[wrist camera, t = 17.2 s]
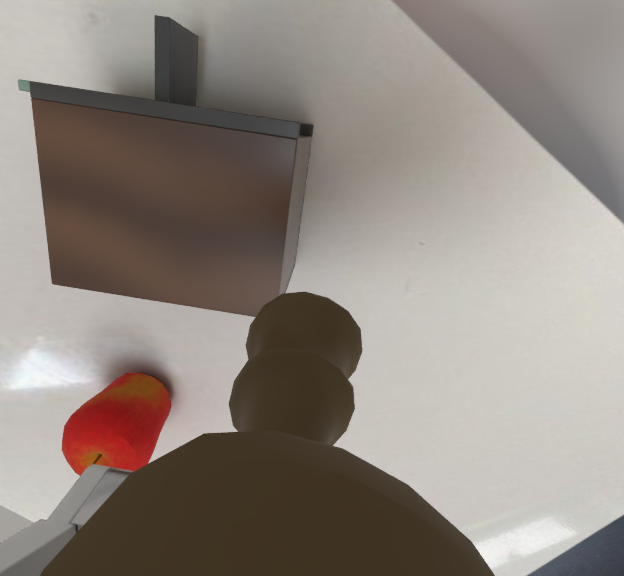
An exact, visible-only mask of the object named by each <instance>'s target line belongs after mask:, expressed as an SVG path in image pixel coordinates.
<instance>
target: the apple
mask: <svg viewBox="0 0 624 576" xmlns="http://www.w3.org/2000/svg"><path fill="white" fill-rule="evenodd" d="M170 408H171V400H170V395H169V393H168V392H167V390H166V389H165V387H164V385H163V383H162V382H160V381H159V380H158V379H156V378H155V377H151V376H148V375H145V374H142V373H126V374H124V375H122V376H120V377H119V378H117V379H116V380H115V381H113V382H112V383H111V384H110V385H109V386H108V387H106V388H105V389H104V390H103V391H102V392H100V393H99V394H97V395H96V396H94V397H93V398H91V399H90V400H89V401H87V402H86V403H84V404H83V405H82V406H81V407H80V408H79V409H78V410H77V411H76V412H75V413H73V414H72V415H71V417H70V418H69V420H68V421H67V423H66V424H65V426H64V432H63V439H62V451H63V454H64V456H65V458H66V460H67V462H68V463H69V465H70V466H71V467H72V469H73V470H74V472H75V473H77V474H78V475H80V476H81V475H82V473H83V472H84V471H85V469H86V468H88V467H89V466H91V465H92V464H96V465H102V466H107V467H114V468H119V469H124V470H130V471H136V470H138V469H140V468H142V467H143V466H145V465H147V464H148V463H149V460H150V458H151V456H152V454H153V451H154V449H155V446H156V443H157V440H158V437H159V434H160V432H161V430H162V428H163V426H164V423H165V421H166V419H167V417H168V415H169V412H170Z"/></svg>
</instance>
